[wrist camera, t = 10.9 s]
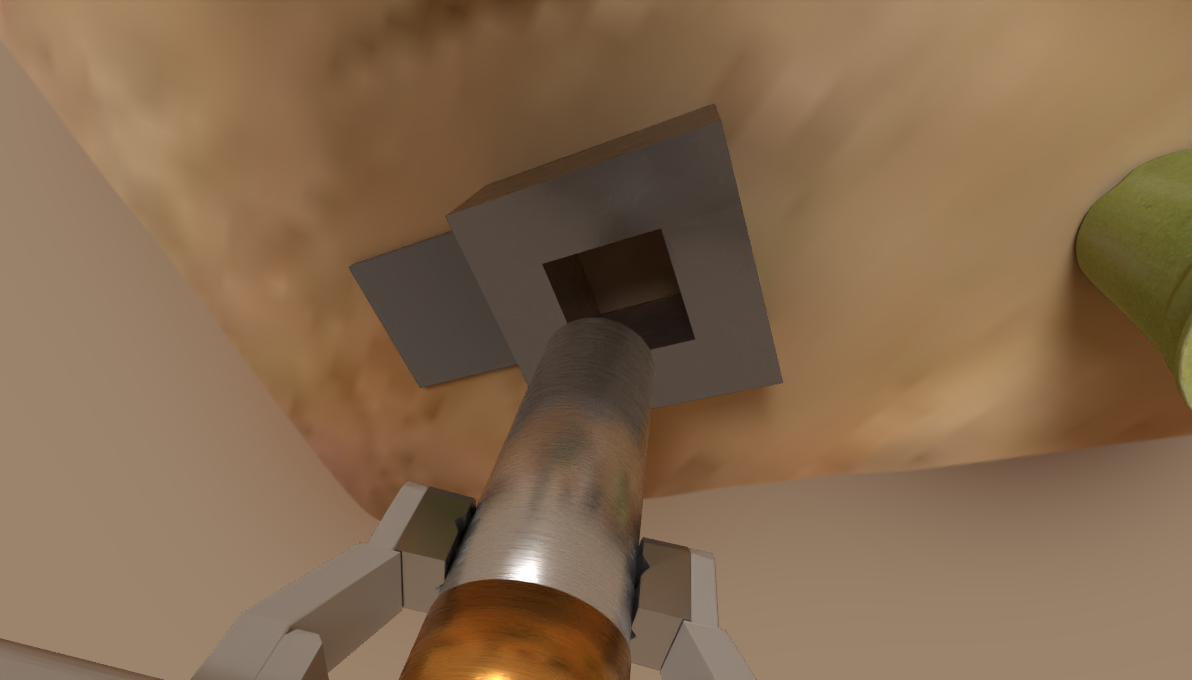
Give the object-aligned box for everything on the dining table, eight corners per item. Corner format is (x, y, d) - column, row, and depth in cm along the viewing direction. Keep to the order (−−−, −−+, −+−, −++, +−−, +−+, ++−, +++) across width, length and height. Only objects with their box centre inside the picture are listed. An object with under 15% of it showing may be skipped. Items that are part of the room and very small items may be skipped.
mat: (352, 264, 29) (348, 267, 29) (481, 221, 27) (478, 223, 26) (423, 384, 32) (420, 387, 32) (542, 354, 30) (541, 358, 30)
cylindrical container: (535, 398, 18) (376, 798, 9) (549, 304, 16) (364, 689, 7) (642, 423, 18) (595, 855, 9) (668, 331, 16) (644, 759, 7)
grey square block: (485, 185, 26) (445, 216, 21) (714, 103, 22) (721, 120, 18) (568, 372, 30) (549, 429, 26) (767, 327, 27) (783, 382, 23)
